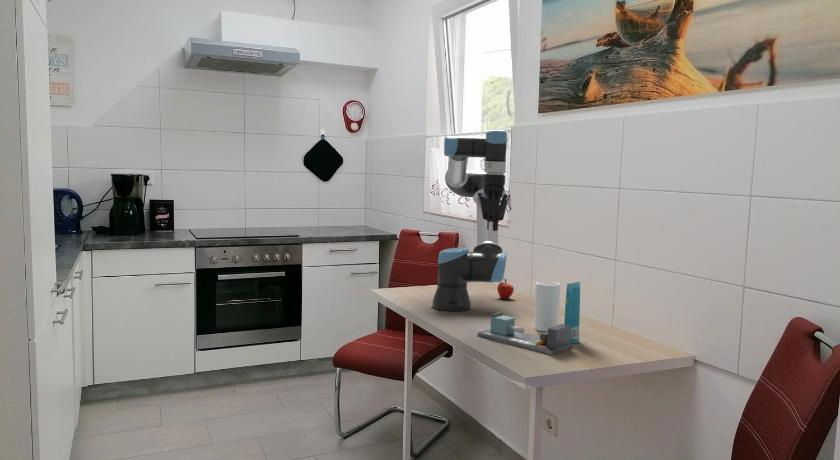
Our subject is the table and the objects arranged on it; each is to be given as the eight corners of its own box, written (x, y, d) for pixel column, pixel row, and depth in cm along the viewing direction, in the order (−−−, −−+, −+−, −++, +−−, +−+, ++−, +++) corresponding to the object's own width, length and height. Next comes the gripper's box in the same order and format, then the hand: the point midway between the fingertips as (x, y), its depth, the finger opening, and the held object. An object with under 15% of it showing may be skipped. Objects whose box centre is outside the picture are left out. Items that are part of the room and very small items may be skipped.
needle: (533, 345, 189) (533, 335, 189) (544, 341, 194) (545, 331, 194) (538, 346, 188) (539, 337, 188) (550, 342, 193) (550, 333, 193)
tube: (569, 337, 204) (572, 280, 202) (582, 340, 201) (586, 282, 199) (558, 342, 199) (561, 283, 197) (572, 345, 195) (575, 285, 194)
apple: (511, 297, 267) (512, 274, 266) (514, 300, 260) (515, 277, 259) (493, 296, 267) (494, 273, 266) (496, 300, 260) (497, 276, 259)
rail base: (477, 335, 203) (478, 314, 202) (498, 329, 212) (499, 309, 211) (552, 355, 184) (553, 331, 183) (572, 347, 193) (573, 324, 192)
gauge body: (490, 331, 204) (491, 314, 203) (499, 329, 207) (499, 312, 207) (518, 338, 196) (519, 320, 196) (527, 335, 200) (527, 318, 199)
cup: (544, 332, 210) (546, 286, 208) (529, 326, 217) (531, 281, 215) (563, 330, 214) (565, 284, 212) (547, 324, 221) (549, 280, 219)
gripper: (473, 173, 222) (471, 238, 225) (503, 174, 213) (500, 242, 216) (486, 173, 228) (483, 237, 230) (516, 174, 219) (513, 240, 221)
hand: (492, 239), depth 223 cm, fingers closed
